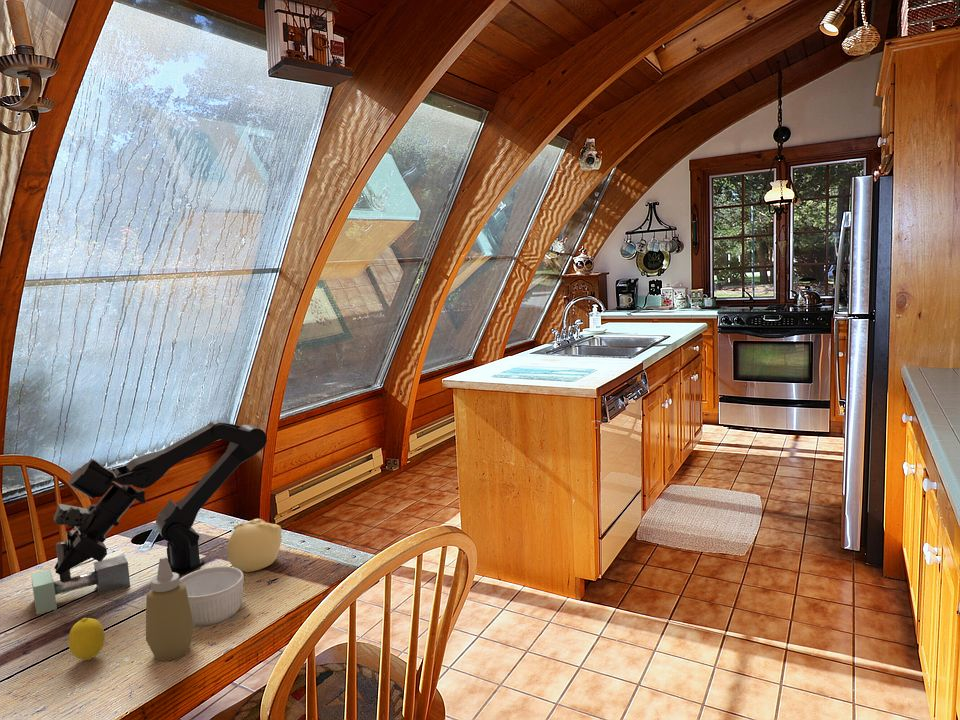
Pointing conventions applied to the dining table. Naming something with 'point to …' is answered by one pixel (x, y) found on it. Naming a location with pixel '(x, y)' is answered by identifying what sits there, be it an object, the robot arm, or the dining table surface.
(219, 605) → the ramekin
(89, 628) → the lemon
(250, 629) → the dining table surface
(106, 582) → the grey cubic block
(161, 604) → the squeeze bottle
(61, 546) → the dark grey l-shaped piece
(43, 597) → the socket block
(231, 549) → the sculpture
